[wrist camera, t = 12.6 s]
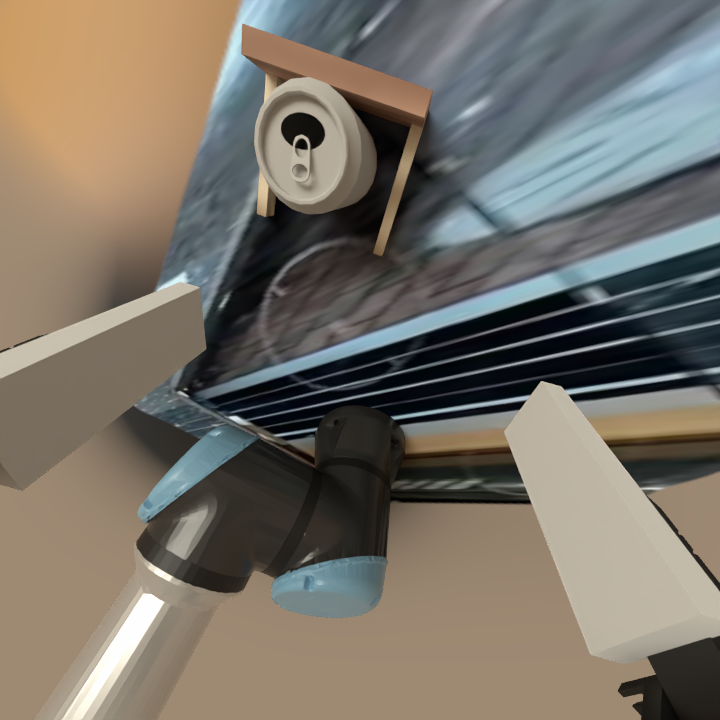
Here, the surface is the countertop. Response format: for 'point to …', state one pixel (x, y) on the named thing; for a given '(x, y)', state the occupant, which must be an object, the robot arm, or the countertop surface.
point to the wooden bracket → (356, 88)
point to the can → (313, 147)
